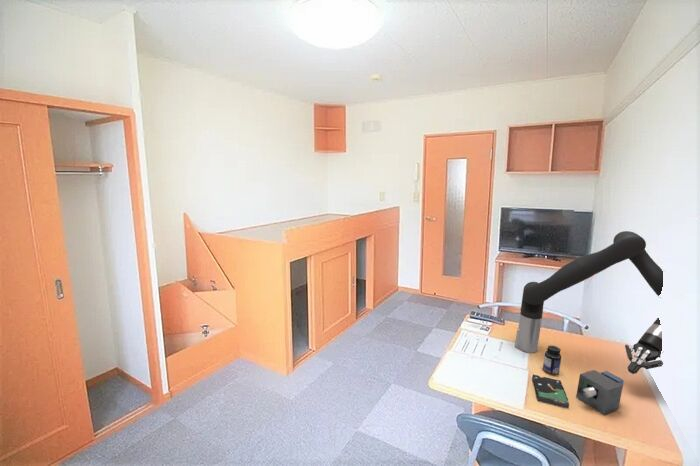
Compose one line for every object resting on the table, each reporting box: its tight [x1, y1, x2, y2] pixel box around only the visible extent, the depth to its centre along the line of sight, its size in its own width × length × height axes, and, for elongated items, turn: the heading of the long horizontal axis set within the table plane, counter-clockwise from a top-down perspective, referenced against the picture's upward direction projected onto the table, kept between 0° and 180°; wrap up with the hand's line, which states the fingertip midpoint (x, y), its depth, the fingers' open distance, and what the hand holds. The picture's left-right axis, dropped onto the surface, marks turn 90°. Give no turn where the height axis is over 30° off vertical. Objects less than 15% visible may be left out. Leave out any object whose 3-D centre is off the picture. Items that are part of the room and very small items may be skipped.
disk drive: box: [531, 374, 570, 409], centre depth 128 cm, size 10×3×15 cm
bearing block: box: [575, 369, 624, 416], centre depth 122 cm, size 8×10×10 cm
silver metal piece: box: [582, 370, 625, 398], centre depth 122 cm, size 15×6×9 cm, turn 111°
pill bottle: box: [542, 344, 562, 376], centre depth 141 cm, size 6×6×11 cm
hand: (630, 372), depth 127 cm, fingers closed
